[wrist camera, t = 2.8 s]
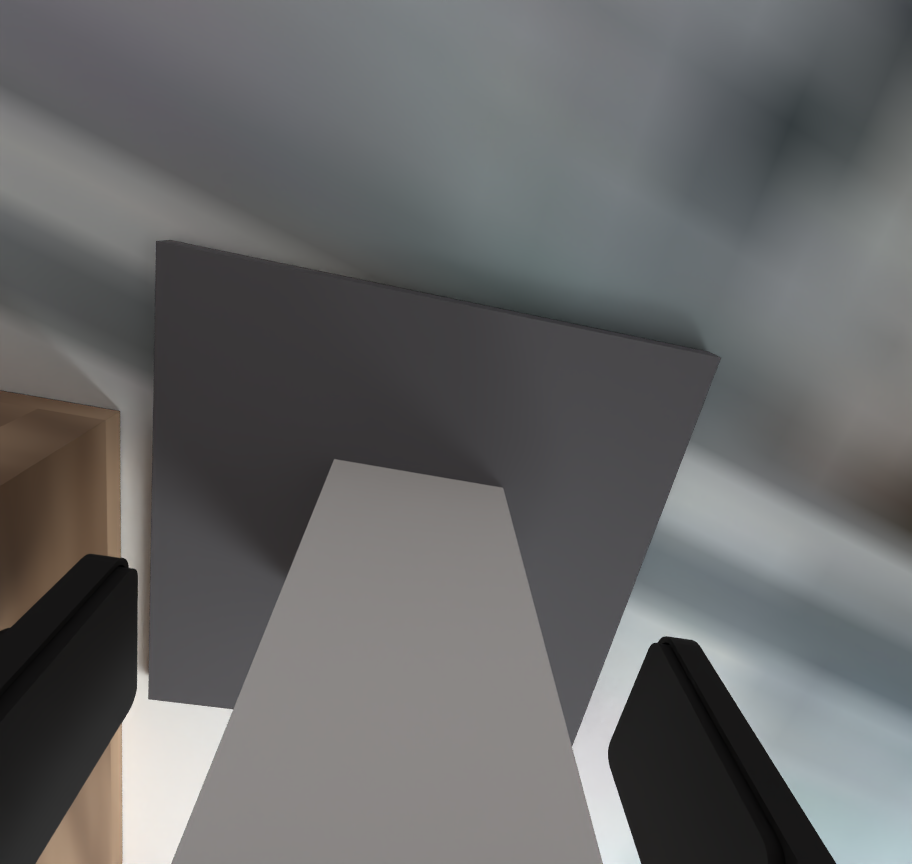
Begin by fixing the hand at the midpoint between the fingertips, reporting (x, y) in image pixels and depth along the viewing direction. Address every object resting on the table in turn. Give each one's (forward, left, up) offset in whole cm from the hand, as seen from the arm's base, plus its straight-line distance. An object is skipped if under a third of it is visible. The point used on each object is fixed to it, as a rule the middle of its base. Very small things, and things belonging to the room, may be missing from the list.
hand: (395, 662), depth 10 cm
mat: (0, 0, -4) cm, 4 cm away
